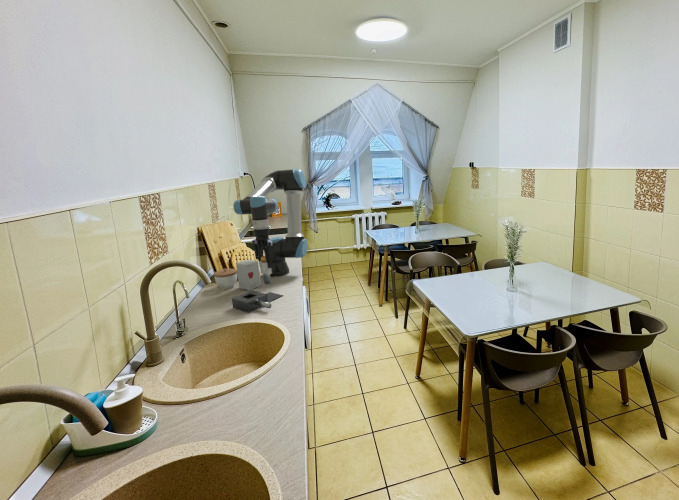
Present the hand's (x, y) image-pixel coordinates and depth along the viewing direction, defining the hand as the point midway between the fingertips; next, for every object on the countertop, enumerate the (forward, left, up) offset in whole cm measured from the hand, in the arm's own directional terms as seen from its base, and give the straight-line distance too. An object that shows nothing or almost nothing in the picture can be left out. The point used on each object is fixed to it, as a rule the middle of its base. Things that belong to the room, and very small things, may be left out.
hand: (266, 273), depth 164 cm
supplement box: (-6, -23, -13) cm, 27 cm away
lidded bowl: (0, -36, -13) cm, 38 cm away
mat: (0, 0, -13) cm, 13 cm away
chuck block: (+12, +4, -13) cm, 18 cm away
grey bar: (0, 0, -5) cm, 5 cm away
